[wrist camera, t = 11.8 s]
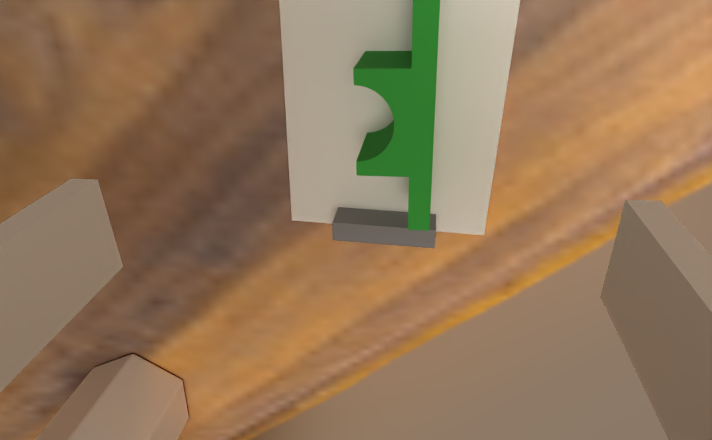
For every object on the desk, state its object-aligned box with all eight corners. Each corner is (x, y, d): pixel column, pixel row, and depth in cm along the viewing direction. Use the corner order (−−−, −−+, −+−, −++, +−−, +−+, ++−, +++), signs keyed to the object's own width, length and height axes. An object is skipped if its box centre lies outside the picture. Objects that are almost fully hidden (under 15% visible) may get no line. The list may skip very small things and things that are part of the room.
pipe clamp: (363, -12, 25) (350, -6, 21) (439, -14, 24) (440, -8, 20) (367, 192, 30) (357, 228, 26) (430, 194, 30) (430, 232, 26)
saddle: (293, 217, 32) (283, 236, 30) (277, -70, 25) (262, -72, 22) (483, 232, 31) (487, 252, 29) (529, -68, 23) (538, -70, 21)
